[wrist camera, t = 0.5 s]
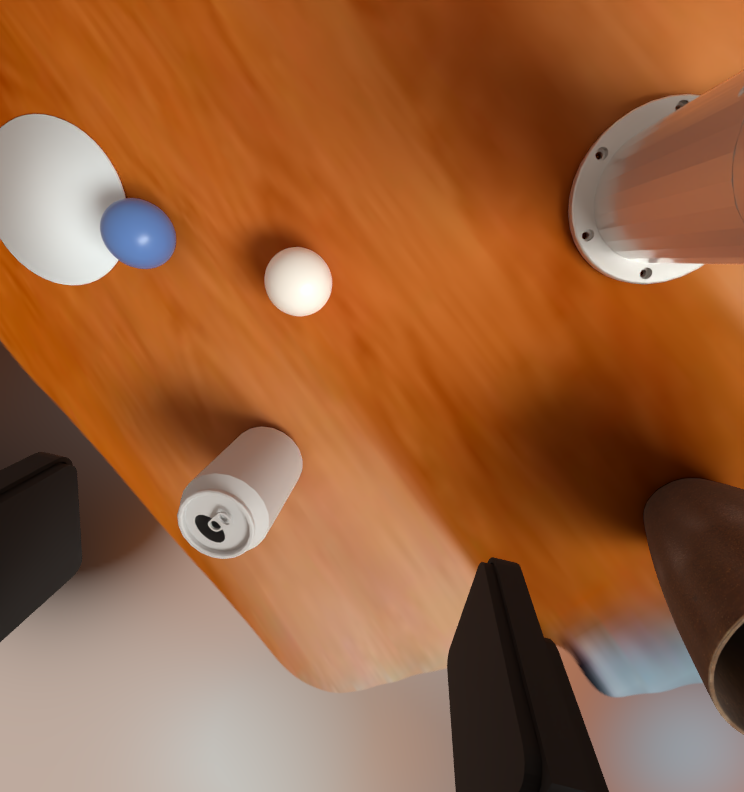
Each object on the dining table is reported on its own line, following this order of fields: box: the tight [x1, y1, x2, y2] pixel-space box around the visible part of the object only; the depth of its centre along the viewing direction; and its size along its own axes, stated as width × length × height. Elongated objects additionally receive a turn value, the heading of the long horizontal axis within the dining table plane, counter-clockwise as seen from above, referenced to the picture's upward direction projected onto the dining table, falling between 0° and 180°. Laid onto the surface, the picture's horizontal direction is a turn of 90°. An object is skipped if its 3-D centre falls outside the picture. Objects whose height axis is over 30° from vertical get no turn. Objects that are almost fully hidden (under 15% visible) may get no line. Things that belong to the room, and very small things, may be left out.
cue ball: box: [264, 247, 332, 316], centre depth 33 cm, size 6×6×6 cm
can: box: [177, 427, 302, 559], centre depth 36 cm, size 8×8×12 cm
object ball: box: [100, 198, 176, 269], centre depth 34 cm, size 6×6×6 cm
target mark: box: [0, 114, 126, 285], centre depth 36 cm, size 14×14×1 cm
